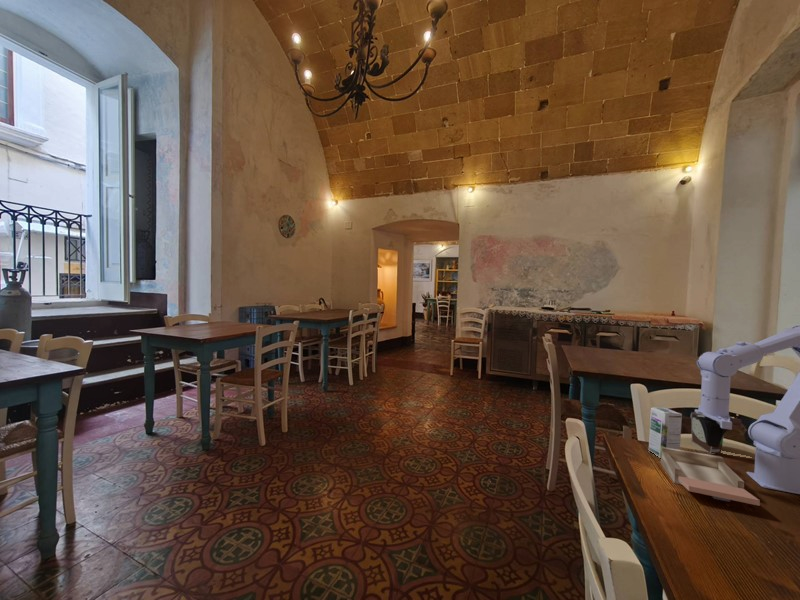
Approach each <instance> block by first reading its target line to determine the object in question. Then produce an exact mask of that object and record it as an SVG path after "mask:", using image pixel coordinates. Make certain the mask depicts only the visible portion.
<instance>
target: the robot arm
mask: <svg viewBox="0 0 800 600" xmlns="http://www.w3.org/2000/svg"><path fill="white" fill-rule="evenodd" d="M787 349H791V350H792V351H793V352H794V353H795V354H796V355H797V356H798V357H799V358H800V325H793V326H791V327H787V328H784V329H783V330H782V331H781V332H779V333H776V334H773V335H772V336H768V337H767V338H764V339H762V340H758V341H757V342H755V343H752V342H749V341H741V340H739V341H737V342H735V344H734V345H732V346H728V347H726V348H723V347H722V348H719V349H718V350H717V351H716V352H714V351H706V352H703V353H702V354H700V356H699V357H698V359H697V360H696V366H697V367H698V369H699V370H700V376H701V387H700V390H701V391H700V404H698V409H696V408H695V409H694V413H697V414H702V415H704V416H706V417H698V419H699V421H700V423H701V425H702V428H703V431H704V435H705V440H706V443H707V445H708V446H712V447H719V445H720V442H721V440H722V437H723V435H724V436H725V434H726V433H727V432H728V430H729V431H731V430H733V422H732V421H731V417H730V416H731V415H730V414H729V412H730V397H731V395H730V394H731V378H732V377H734V375H736V374H737V372H738V370H740V369H741V368H744V367H748V366H750V365H755V364H756V363H759V362H761V361H762V360H763V357H764V356H766V355H768V354H769V355H770V354H773V353H777V352H781V351H784V350H787ZM747 430H748V431H747V434H748V437H749V438H750V439H751V441H753V445H754V446H755V451H754V452H755V453H754V454H755V455H754V469H753V471H754V472H751V471H746V474H747V475H748V476H749V477H750V478H751V479H752V480H754V481H755V482H756V483H757V484H758V485H759V486H760V487H762V488H763V489H764V488H765V489H770V490H775V491H780V492H781V491H782V492H787V493H790V494H791V493H792V494H797V495H800V371H799V372H798V374H797V375H796V376H795V378H794V379H793V381H792V383H791V384H790V386H789V387H788V389H787V391H786V392H785V394H783V397H782V398H781V400H780V401H779V403H778V405H777V407H776V408H775V409H774V411H773V412H769V413H766V414H761V415H760V416H759V418H758V419H757V420H756V421H754V422H753V423H750V425H749V427H748V429H747Z"/></svg>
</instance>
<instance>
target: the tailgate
mask: <svg viewBox="0 0 800 600" xmlns="http://www.w3.org/2000/svg"><path fill="white" fill-rule="evenodd" d="M678 481H679V482H680V483H681V484H682V485H681V486H683V487H684V488H685V489H686V491H688V492H692V493H697V494H701V495H705V496H711V497H712V499H714V500H718V501H724V502H729V503H730V502H731V501H735V502H740V503H745V504H748V505H749V504H750V505H754V506H761V502H760V501H761V500H760V499H758V498H757V497H756V496H755V495H753V494H752V493H750V492H749V491H747V490H746V489H745V488H744V489H742V488H737V487H732V486H727V485H722V484H717V483H712V482H707V481H701V480H696V479H691V478H686V477H681V476H678Z"/></svg>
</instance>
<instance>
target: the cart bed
mask: <svg viewBox="0 0 800 600" xmlns="http://www.w3.org/2000/svg"><path fill="white" fill-rule="evenodd" d="M724 460H725V458H724V457H722V456H719V455H715V454H707V453H701V452H694V451H689V450H683V449H680V450H678V449H673V448H667V447H661V459H660V465H661V466H662V468H663V469H664V470H665V472H666V474H667V475H668V476H669V478H670V479H671V480H672V482H673V483H674V484H675V485H681V486H683V485H682V484H681V483H680V482H679V481H678V476H681V477H686V478H691V479H696V480H701V481H707V482H712V483H717V484H722V485H727V486H732V487H737V488H742V489H744V490H745V481H744V480H743V479H742V478H741V477H740V476H739V475H738V474H737V473H736V472H735V471H733V470H732V468H730V467H729V466H728V465H727V464H726V463H725V462H724Z"/></svg>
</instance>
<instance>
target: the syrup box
mask: <svg viewBox="0 0 800 600" xmlns="http://www.w3.org/2000/svg"><path fill="white" fill-rule="evenodd" d="M682 417H683V414H682V413H680V412H676V411H675V410H672V409H669V408H667V407H660V406H658V407H657V406H655V407H651V408H650V418H649V436H648V437H649V438H648V440H649V441H648V450H649V451H651V452H652V453H654V454H655V455H656V457H657V456H658V458H659V459H660V458H661V447H667V448H673V449H678V450H681V438H682V435H681V434H682V421H683V418H682ZM649 451H648V452H649ZM652 453H651V454H652ZM654 454H653V455H654ZM655 455H654V456H655Z"/></svg>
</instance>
